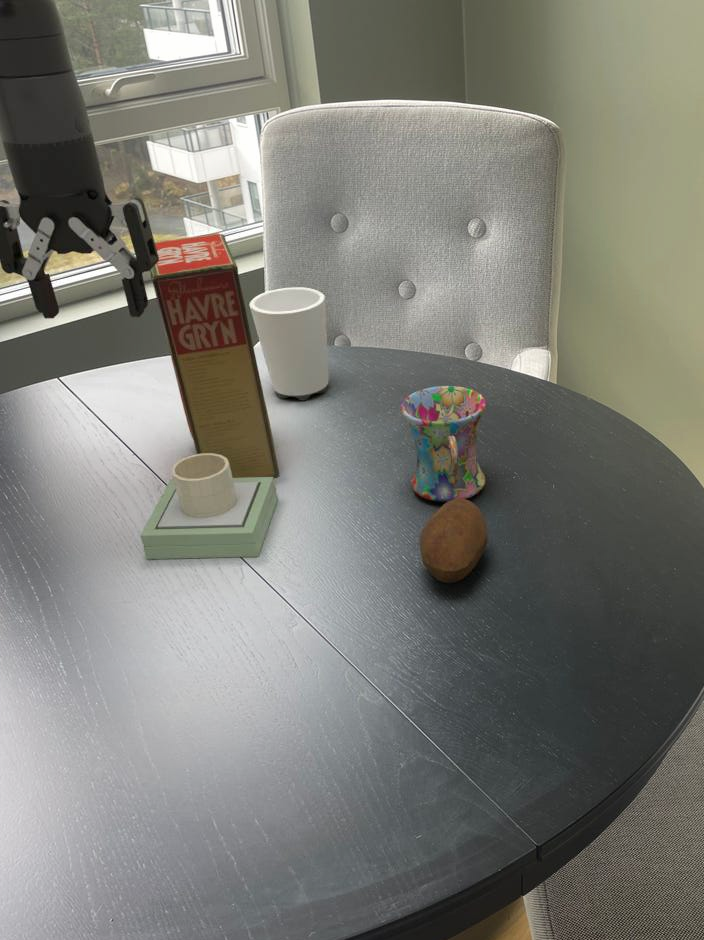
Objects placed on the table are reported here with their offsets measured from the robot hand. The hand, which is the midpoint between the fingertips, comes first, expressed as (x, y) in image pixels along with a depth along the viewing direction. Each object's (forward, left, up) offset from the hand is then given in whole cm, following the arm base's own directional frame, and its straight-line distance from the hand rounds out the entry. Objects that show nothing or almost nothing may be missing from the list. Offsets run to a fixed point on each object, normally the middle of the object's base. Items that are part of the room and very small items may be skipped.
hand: (94, 315), depth 95 cm
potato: (+34, -11, -24) cm, 43 cm away
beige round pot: (+7, -2, -20) cm, 22 cm away
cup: (+11, +34, -24) cm, 43 cm away
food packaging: (+6, +14, -24) cm, 28 cm away
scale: (+7, -2, -23) cm, 25 cm away
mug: (+33, +4, -24) cm, 41 cm away
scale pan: (+7, -2, -22) cm, 23 cm away
